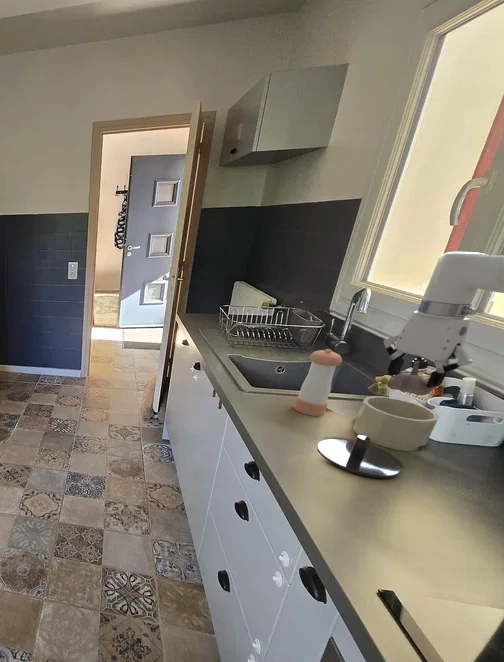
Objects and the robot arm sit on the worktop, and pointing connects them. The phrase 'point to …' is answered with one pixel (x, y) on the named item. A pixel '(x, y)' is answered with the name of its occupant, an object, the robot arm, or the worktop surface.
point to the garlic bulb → (410, 382)
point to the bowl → (395, 423)
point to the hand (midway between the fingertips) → (411, 379)
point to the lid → (358, 457)
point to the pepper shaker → (317, 383)
